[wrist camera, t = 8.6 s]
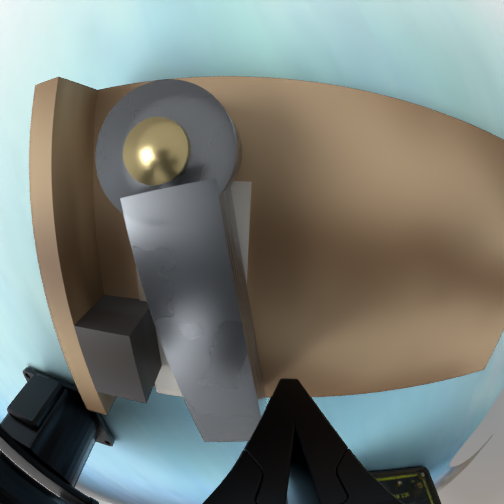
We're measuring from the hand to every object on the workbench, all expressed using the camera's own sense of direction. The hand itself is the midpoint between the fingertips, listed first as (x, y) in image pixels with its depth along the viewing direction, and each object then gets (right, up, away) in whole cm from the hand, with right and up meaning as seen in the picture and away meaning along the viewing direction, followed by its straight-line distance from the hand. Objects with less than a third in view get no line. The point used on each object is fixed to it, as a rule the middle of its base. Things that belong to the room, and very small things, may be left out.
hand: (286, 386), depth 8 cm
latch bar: (-2, +4, 0) cm, 4 cm away
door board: (+3, +4, +3) cm, 6 cm away
